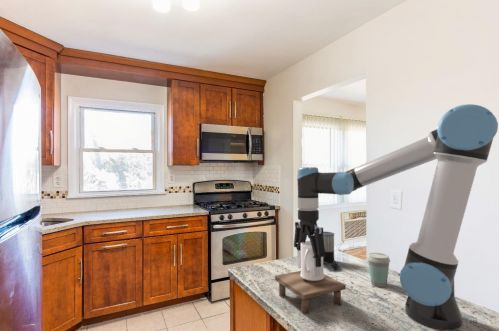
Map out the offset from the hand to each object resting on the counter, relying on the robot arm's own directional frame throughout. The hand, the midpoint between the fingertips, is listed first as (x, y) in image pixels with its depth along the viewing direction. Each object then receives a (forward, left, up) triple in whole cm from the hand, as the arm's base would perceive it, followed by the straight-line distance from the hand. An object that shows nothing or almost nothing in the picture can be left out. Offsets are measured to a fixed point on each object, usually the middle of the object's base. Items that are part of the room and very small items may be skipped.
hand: (308, 271), depth 100 cm
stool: (0, 0, -10) cm, 10 cm away
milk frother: (+26, -32, -10) cm, 43 cm away
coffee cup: (-2, -34, -10) cm, 36 cm away
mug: (-1, 0, -2) cm, 2 cm away
